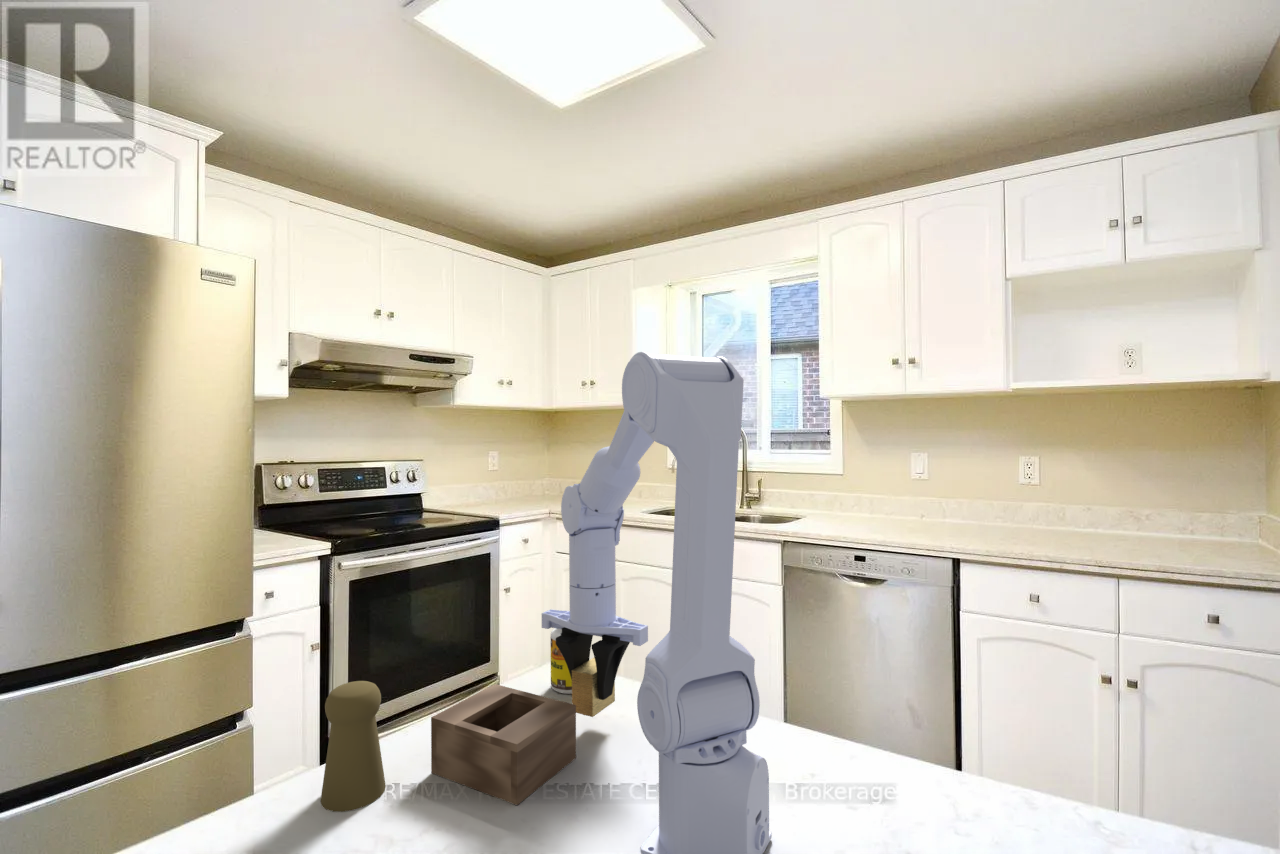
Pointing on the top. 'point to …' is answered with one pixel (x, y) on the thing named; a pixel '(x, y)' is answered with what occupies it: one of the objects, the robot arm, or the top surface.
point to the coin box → (503, 742)
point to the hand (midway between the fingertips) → (593, 693)
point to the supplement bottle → (559, 667)
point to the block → (588, 690)
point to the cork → (353, 748)
